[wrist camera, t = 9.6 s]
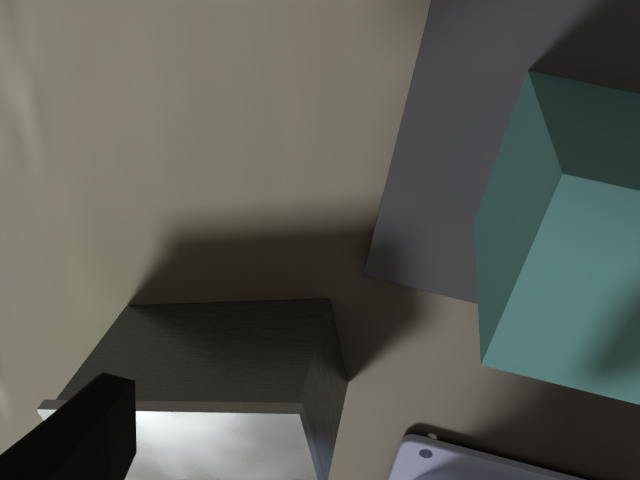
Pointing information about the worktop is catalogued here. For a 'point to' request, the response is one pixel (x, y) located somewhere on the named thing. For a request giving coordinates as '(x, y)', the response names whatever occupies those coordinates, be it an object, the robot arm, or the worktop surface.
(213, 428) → the control box
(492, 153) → the mat
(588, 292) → the teal block
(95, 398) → the robot arm
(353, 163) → the worktop surface
